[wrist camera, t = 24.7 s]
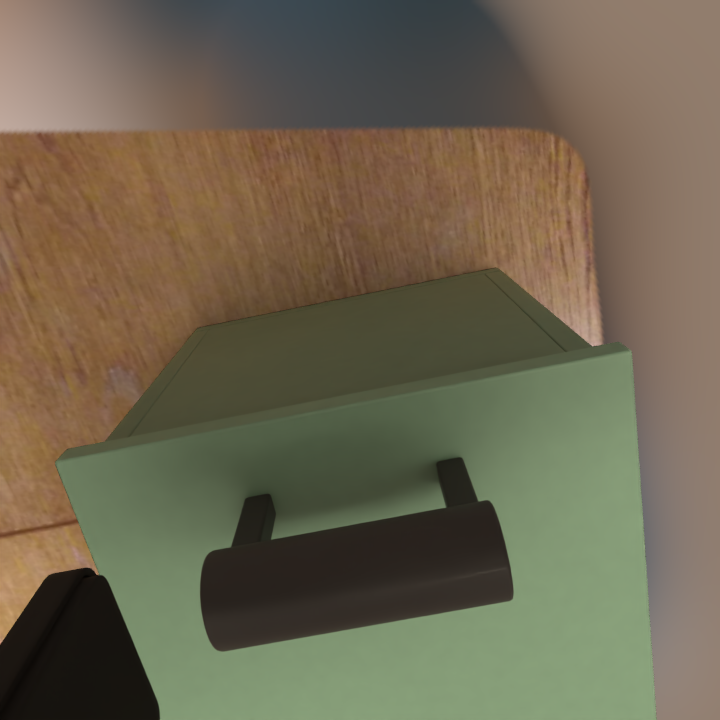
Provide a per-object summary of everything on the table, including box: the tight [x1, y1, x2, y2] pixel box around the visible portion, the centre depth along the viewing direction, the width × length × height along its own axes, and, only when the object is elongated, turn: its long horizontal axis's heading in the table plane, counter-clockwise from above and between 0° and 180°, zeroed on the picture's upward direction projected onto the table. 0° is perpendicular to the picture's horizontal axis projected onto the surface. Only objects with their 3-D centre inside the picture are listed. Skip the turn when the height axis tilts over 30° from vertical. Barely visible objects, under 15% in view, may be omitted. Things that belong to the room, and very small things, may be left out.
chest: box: [105, 268, 592, 442], centre depth 26 cm, size 16×15×14 cm
